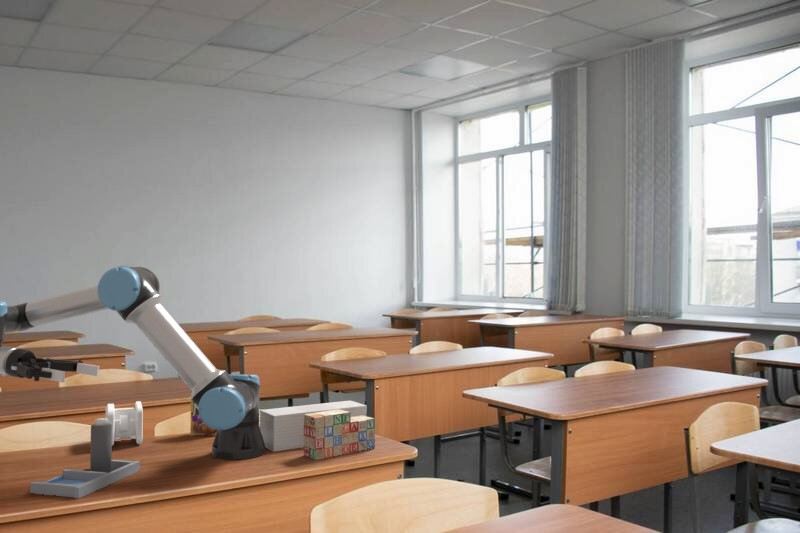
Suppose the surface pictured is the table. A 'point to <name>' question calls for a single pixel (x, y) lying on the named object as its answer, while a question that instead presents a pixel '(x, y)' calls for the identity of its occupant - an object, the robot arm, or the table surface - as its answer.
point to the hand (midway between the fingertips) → (81, 374)
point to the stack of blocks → (336, 433)
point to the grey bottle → (101, 446)
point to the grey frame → (84, 480)
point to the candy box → (199, 423)
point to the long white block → (297, 422)
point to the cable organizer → (126, 422)
